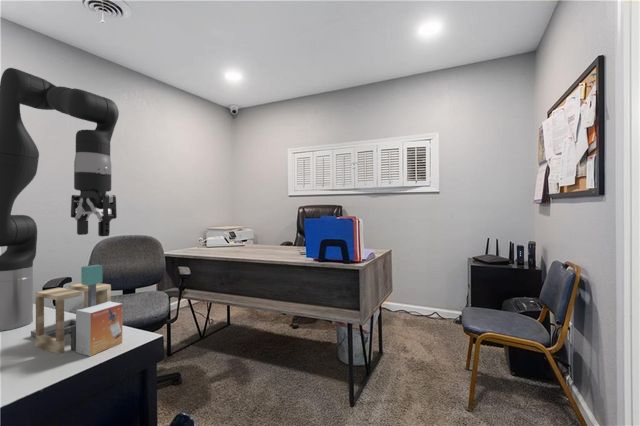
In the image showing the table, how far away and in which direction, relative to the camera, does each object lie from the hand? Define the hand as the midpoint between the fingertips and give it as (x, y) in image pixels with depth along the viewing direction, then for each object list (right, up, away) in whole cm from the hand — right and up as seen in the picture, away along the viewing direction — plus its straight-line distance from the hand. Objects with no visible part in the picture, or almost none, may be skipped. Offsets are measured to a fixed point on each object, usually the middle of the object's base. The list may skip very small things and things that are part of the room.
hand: (93, 235), depth 74 cm
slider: (-1, -29, +1) cm, 29 cm away
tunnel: (-7, -28, +3) cm, 29 cm away
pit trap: (-16, -28, +8) cm, 33 cm away
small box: (+2, -29, -1) cm, 29 cm away
